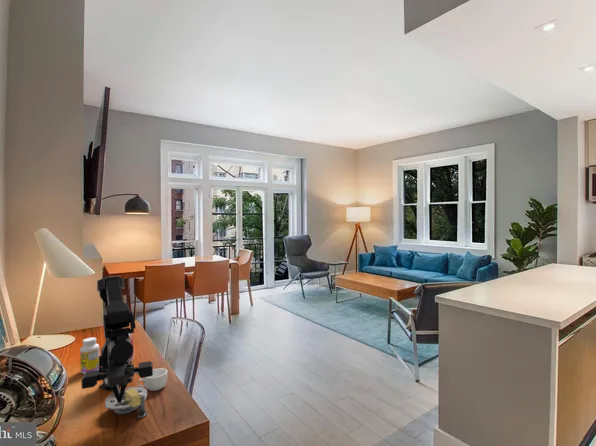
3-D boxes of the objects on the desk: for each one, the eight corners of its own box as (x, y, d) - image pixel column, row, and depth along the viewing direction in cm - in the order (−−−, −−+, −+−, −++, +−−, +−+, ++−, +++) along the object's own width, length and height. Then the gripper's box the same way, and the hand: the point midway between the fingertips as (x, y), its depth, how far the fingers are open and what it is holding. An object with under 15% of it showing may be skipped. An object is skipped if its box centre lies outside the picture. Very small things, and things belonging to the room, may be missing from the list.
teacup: (165, 380, 127) (165, 366, 127) (169, 389, 120) (169, 374, 120) (136, 388, 122) (136, 373, 122) (138, 397, 115) (138, 381, 115)
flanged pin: (134, 416, 104) (134, 397, 104) (142, 411, 106) (142, 392, 106) (141, 418, 102) (141, 399, 102) (149, 413, 105) (149, 394, 105)
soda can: (136, 358, 148) (136, 331, 148) (129, 365, 141) (128, 337, 141) (120, 359, 148) (119, 332, 148) (111, 366, 141) (111, 337, 141)
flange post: (109, 412, 106) (109, 404, 106) (128, 401, 113) (128, 393, 113) (124, 417, 103) (124, 409, 103) (143, 405, 110) (143, 398, 110)
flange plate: (100, 400, 108) (99, 387, 108) (139, 386, 117) (138, 374, 116) (114, 418, 98) (114, 404, 98) (156, 402, 106) (156, 388, 106)
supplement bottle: (78, 371, 137) (77, 339, 137) (96, 365, 142) (96, 335, 142) (83, 376, 132) (82, 343, 132) (102, 370, 137) (101, 338, 137)
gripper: (77, 366, 91) (78, 424, 91) (152, 354, 99) (153, 408, 99) (84, 352, 102) (85, 404, 102) (152, 342, 109) (153, 390, 109)
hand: (119, 402), depth 103 cm, fingers closed
